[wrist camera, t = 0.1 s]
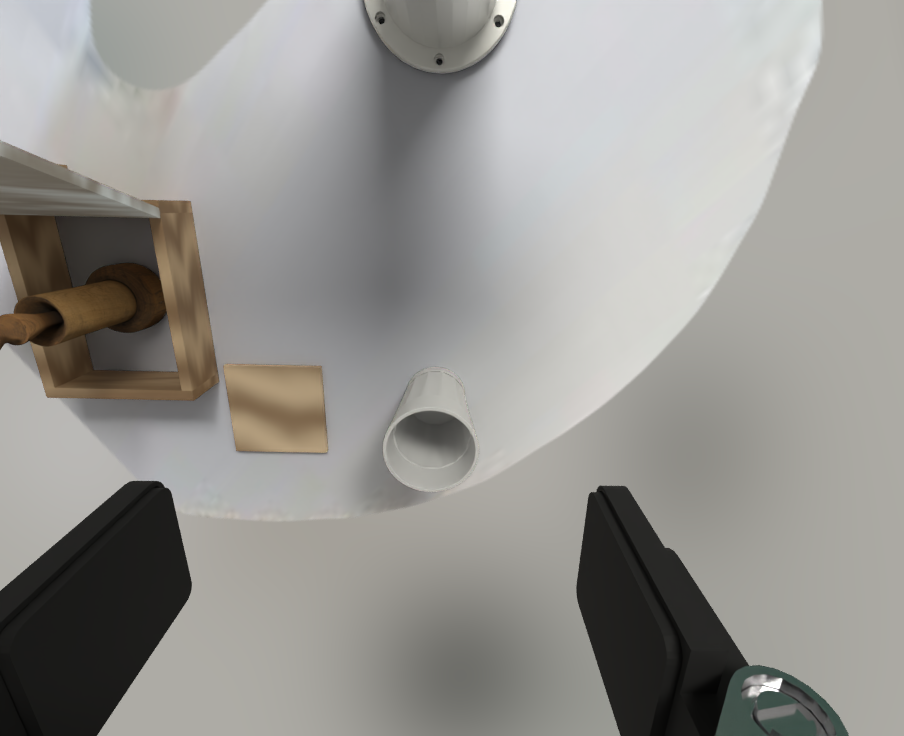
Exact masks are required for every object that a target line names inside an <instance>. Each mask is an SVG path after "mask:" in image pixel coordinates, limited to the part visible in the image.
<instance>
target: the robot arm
mask: <svg viewBox="0 0 904 736" xmlns="http://www.w3.org/2000/svg"><path fill="white" fill-rule="evenodd" d="M364 3H365V7H366V10H367V13H368V16H369V18H370V20H371V23H372V25H373V27H374V28H375V30H376V32H377V34H378V36H379V37H380V39H381V40H382V41H383V43H384V44H385V45H386V46H387V47H388V49H389V50H390V51H391V52H392V53H393V54H394V55H396V56H397V57H398V58H399V59H400V60H402V61H403V62H405V63H407V64H408V65H410V66H412V67H414V68H416V69H419V70H422V71H426V72H429V73H441V74H444V73H451V72H457V71H460V70H463V69H466V68H468V67H471V66H472V65H474V64H475V63H477V62H479V61H480V60H482V59H483V58H484V57H485V56H486V55H487V54H489V53H490V52H491V51H492V50H493V49H494V48H495V46H496V45H497V44H498V42H499V41H500V40H501V38H502V37H503V35H504V34H505V32H506V29H507V27H508V25H509V23H510V21H511V19H512V16H513V13H514V10H515V7H516V3H517V0H364ZM380 19H384V20H385V22H384V23H383V24H380V23H379V20H380ZM496 22H500V24H501V26H500V27H499V28H498V27H496V26H495V23H496ZM439 59H440V60H442V64H441V65H438V64H437V63H436V62H437V60H439ZM191 587H192V582H191V577H190V573H189V569H188V564H187V560H186V555H185V551H184V546H183V543H182V538H181V533H180V529H179V525H178V520H177V516H176V511H175V507H174V503H173V498H172V494H171V491H170V490H169V489H168V488H165V487H164V485H163V484H162V483H161V482H159V481H131V482H129V483H127V484H125V485H124V486H123V487H122V488H121V489H119V490H118V491H117V492H116V493H115V494H114V495H112V496H111V497H110V498H109V499H108V500H106V501H105V502H104V503H103V504H102V505H101V506H99V507H98V508H97V509H96V510H95V511H93V512H92V513H91V514H90V515H89V516H88V517H86V518H85V519H84V520H83V521H82V522H81V523H79V524H78V525H77V526H76V527H75V528H74V529H72V530H71V531H70V532H69V533H68V534H66V535H65V536H64V537H63V538H62V539H61V540H59V541H58V542H57V543H56V544H55V545H54V546H52V547H51V548H50V549H49V550H48V551H47V552H46V553H44V554H43V555H42V556H41V557H40V558H38V559H37V560H36V561H35V562H34V563H33V564H31V565H30V566H29V567H28V568H27V569H25V570H24V571H23V572H22V573H21V574H20V575H18V576H17V577H16V578H15V579H14V580H13V581H11V582H10V583H9V584H8V585H7V586H5V587H4V588H3V589H2V590H1V591H0V736H97V735H98V733H99V732H100V730H101V729H102V727H103V726H104V724H105V723H106V721H107V720H108V718H109V717H110V715H111V714H112V712H113V711H114V709H115V708H116V706H117V705H118V703H119V702H120V700H121V699H122V697H123V696H124V694H125V693H126V691H127V690H128V688H129V687H130V685H131V684H132V682H133V681H134V679H135V678H136V676H137V675H138V673H139V672H140V670H141V669H142V667H143V666H144V664H145V663H146V661H147V660H148V658H149V657H150V655H151V654H152V652H153V651H154V649H155V648H156V647H157V645H158V644H159V642H160V640H161V639H162V638H163V636H164V634H165V633H166V632H167V630H168V628H169V627H170V626H171V624H172V622H173V621H174V620H175V618H176V617H177V615H178V614H179V612H180V611H181V609H182V608H183V606H184V605H185V603H186V602H187V600H188V598H189V596H190V593H191ZM577 599H578V604H579V607H580V610H581V613H582V617H583V620H584V623H585V626H586V629H587V632H588V635H589V638H590V642H591V645H592V648H593V651H594V654H595V657H596V660H597V664H598V667H599V670H600V673H601V676H602V679H603V682H604V685H605V689H606V692H607V695H608V698H609V701H610V704H611V707H612V710H613V714H614V717H615V720H616V723H617V726H618V729H619V732H620V735H621V736H849V735H848V732H847V730H846V728H845V726H844V725H843V723H842V721H841V719H840V717H839V716H838V714H837V713H836V712H835V711H834V710H833V708H832V707H831V706H830V705H829V704H828V703H827V702H826V700H825V699H823V698H822V697H821V696H820V695H819V694H818V693H816V692H815V691H814V690H813V689H812V688H811V687H809V686H808V685H806V684H805V683H803V682H801V681H800V680H798V679H797V678H795V677H794V676H792V675H789V674H787V673H785V672H782V671H780V670H778V669H775V668H770V667H766V666H761V665H752V666H749V665H748V663H747V662H746V660H745V659H744V657H743V656H742V654H741V652H740V651H739V649H738V648H737V646H736V645H735V643H734V642H733V640H732V639H731V637H730V635H729V634H728V632H727V631H726V629H725V628H724V626H723V625H722V623H721V622H720V620H719V618H718V617H717V615H716V614H715V612H714V611H713V609H712V608H711V606H710V605H709V603H708V602H707V600H706V598H705V597H704V595H703V594H702V592H701V591H700V589H699V588H698V586H697V584H696V583H695V582H694V580H693V578H692V577H691V575H690V574H689V572H688V571H687V569H686V568H685V566H684V564H683V563H682V561H681V560H680V558H679V557H678V555H677V554H676V553H675V552H674V551H673V550H671V549H670V548H665V547H664V546H663V544H662V543H661V541H660V539H659V538H658V536H657V534H656V533H655V531H654V530H653V528H652V526H651V525H650V523H649V522H648V520H647V518H646V517H645V515H644V514H643V512H642V510H641V509H640V507H639V506H638V504H637V502H636V501H635V499H634V498H633V496H632V494H631V493H630V491H629V490H628V488H627V487H625V486H599V487H598V489H597V492H591V493H590V494H589V497H588V504H587V512H586V519H585V527H584V534H583V541H582V549H581V556H580V564H579V572H578V579H577Z"/></svg>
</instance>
